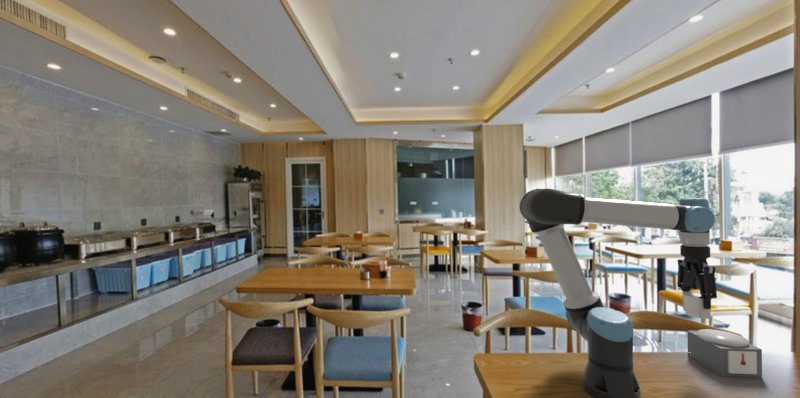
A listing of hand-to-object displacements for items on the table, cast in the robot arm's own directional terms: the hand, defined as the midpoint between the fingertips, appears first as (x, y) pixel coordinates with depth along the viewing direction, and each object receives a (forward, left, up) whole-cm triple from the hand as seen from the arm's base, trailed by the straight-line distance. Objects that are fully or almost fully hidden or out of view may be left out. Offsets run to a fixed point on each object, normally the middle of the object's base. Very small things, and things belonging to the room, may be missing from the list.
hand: (696, 314), depth 114 cm
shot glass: (0, 0, -1) cm, 1 cm away
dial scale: (+12, +6, -19) cm, 23 cm away
